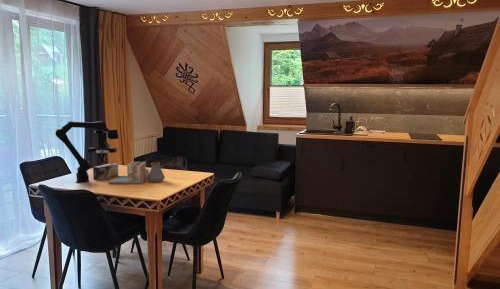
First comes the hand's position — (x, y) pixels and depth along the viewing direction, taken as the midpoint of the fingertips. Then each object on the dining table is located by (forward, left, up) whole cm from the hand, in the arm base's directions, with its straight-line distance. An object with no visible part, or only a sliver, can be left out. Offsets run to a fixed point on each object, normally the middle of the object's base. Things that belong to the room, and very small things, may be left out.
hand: (103, 162), depth 257 cm
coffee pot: (+41, -8, -12) cm, 44 cm away
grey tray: (+19, -4, -12) cm, 23 cm away
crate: (+24, -4, -11) cm, 27 cm away
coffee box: (+4, +13, -8) cm, 15 cm away
